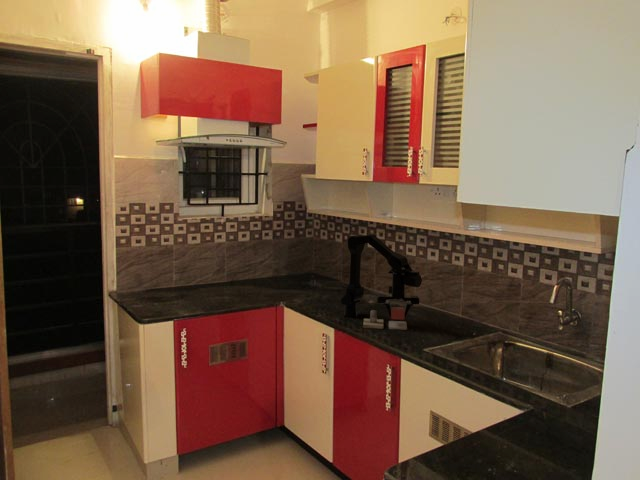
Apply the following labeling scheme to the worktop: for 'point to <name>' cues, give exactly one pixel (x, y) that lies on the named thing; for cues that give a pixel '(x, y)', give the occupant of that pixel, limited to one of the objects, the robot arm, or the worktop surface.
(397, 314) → the red cuboid block
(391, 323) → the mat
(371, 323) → the post stand
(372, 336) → the worktop surface
